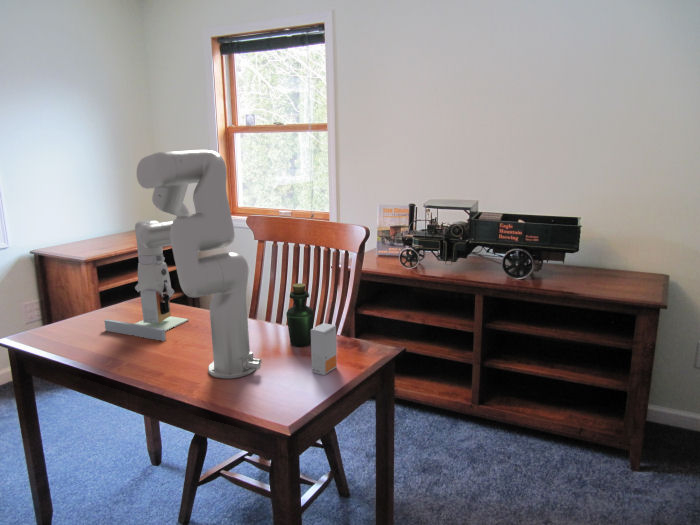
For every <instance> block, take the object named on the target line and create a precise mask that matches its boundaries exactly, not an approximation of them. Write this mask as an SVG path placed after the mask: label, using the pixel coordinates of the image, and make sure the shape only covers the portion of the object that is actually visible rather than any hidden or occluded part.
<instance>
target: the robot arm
mask: <svg viewBox="0 0 700 525" xmlns="http://www.w3.org/2000/svg"><path fill="white" fill-rule="evenodd" d="M227 176H228V174H227V166H226V163H225V160H224V158H223V156H222V155H221V154H219V152H217V151H214V150H208V149H192V150H191V149H190V150H189V149H187V150H175V151H174V150H173V151H161V152H159V151H158V152H155V153H152V154H149V155H146V156H144V157H142V158H141V159H140V160H139V162H138V164H137V166H136V178H137V182H138V184H139V185H140V187H142V188H144V189H149V190H150V189H154V190H153V192H152V196H151V201H152V203H153V205H154V206H155V208H156V209H158V210H159V211H161V212H164V213H167V214H169V215H173V216H176V217H175V219H174V220H169V221H168V220H167V221H158V220H155V219H145V220H138V221H137V222H136V223H135V225H134V230H135V239H136V246H137V257H138V259H137V260H138V263H137V264H138V265H137V284H136V285H135V286H134V289H135V291H137V293H138V295H139V296H140V297H141V294H140V292H142V291H144V290H148V291H156V292H158V295H159V298H160V300H161V303H160V310H161V314H162V315H164V314H166V313H168V312H169V303H168V301H169V302H170V299H171V298H172V297H173V295H174V294H175V290H174V289H173V288H172V285H171V278H170V273H169V269H168V264H167V263H166V262H165V259H166V257H165V256H164V253H163V250H164V249H163V247H167V246H168V247H169V246H171V249H172V254H173V260H174V262H175V269H176V273H177V278H178V282H179V285H180V288H181V290H182V292H183V293H184V295H186V297H189V298H192V299H193V298H199V297H205V296H209V295H212V298H211V301H210V304H209V321H210V329H211V330H210V332H211V333H210V334H211V343H212V345H211V346H212V355H213V356H212V358H213V361H212V362H211V363H209V365H208V366H207V369H208V370H207V371H208V374H209V375H210V376H212V377H214V378H218V379H228V380H229V379H238V378H242V377H244V376H247V375H250V374H252V373H253V372H255V371H256V370H257V371H259V370H260V369H261V364H262V362H263V361H262V359H261V358H255V357H254V351H251V348H250V332H249V320H248V302H247V298H248V297H247V296H248V294H247V292H248V282H249V276H250V275H249V273H250V272H249V271H250V270H249V265H248V262H247V259H245V257H244V256H243V255H242V254H239V253H236V252H223V253H218V254H212V255H207V256H202V257H201V256H200V257H199V253H201V252H207V251H212V250H218V249H222V248H225V247H226V248H227V247H228V246H229V247H230V245H232V244H233V242H234V241H235V228H234V223H233V218H232V213H231V208H230V204H229V203H230V202H229V199H228V198H229V197H228V192H227ZM189 184H196V186H195V188H194V190H193V193H192V201H193V204H194V206H193V207H194V209H195V210H194V211H195V213H192V214H190V211H189V209H188V208H187V206H186V204H185V203H184V201H185V200H184V199H185V197H186V194H187V191H188V190H187V189H188V187H189ZM167 292H168V293H167ZM163 294H164V296H165V297H163Z"/></svg>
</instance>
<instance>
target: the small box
mask: <svg viewBox="0 0 700 525" xmlns="http://www.w3.org/2000/svg"><path fill="white" fill-rule="evenodd" d="M167 293H168V292H167ZM140 294H141V296H140V300H141V301H140V302H141V310H142V311H141V312H142V320H143V321H144V323H160V322H161V321H163V320H165V319H166V318H168V317H170V316H171V315H172V313H171V306H170V304H171V303H170V300H169V301H168V303H169V312H168V313H166V314H164V315H162V314H161V310H160V303H161V300H160V298H159V295H158V292H156V291H148V290H144V291H142V292H140ZM163 297H165V296H164V294H163Z"/></svg>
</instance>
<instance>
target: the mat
mask: <svg viewBox="0 0 700 525" xmlns="http://www.w3.org/2000/svg"><path fill="white" fill-rule="evenodd" d="M188 320H189V321H190V319H189V318H183V317H178V316H170V317H168V318H166V319H165V320H163V321H161V322H160V323H144V321H143V319H142V320H139V321H138V322H134V324H138V325H144V326H150V327H156V328H162V329H165V331H166V332H168V331H170V330H169V329H171V328H173V327H175V328H177V327H179V326H181V325H183V324H185V323H187V322H186V321H188ZM189 321H188V322H189ZM184 322H185V323H184ZM182 323H183V324H182ZM180 324H181V325H180ZM178 325H179V326H178ZM176 326H177V327H176ZM173 329H174V328H173ZM167 330H168V331H167ZM171 330H172V329H171Z"/></svg>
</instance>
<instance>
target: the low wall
mask: <svg viewBox="0 0 700 525" xmlns="http://www.w3.org/2000/svg"><path fill="white" fill-rule="evenodd" d="M103 321H104V328H105V331H106V332H111V333H116V334H121V333H122V335H127V334H128V336H132V335H134V336H133V337H138V336H139V338H143V337H144V339H149V340H154V339H155V341H159V340H161V341H162V342H165V341H166V340H167V338H166V336H167V335H166V332H165V329H162V328H156V327H150V326H144V325H138V324H135V323H133V322H131V323H130V322H128V321H127V322H125V321H120V320H113V319H104V320H103ZM161 341H160V342H161Z"/></svg>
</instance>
